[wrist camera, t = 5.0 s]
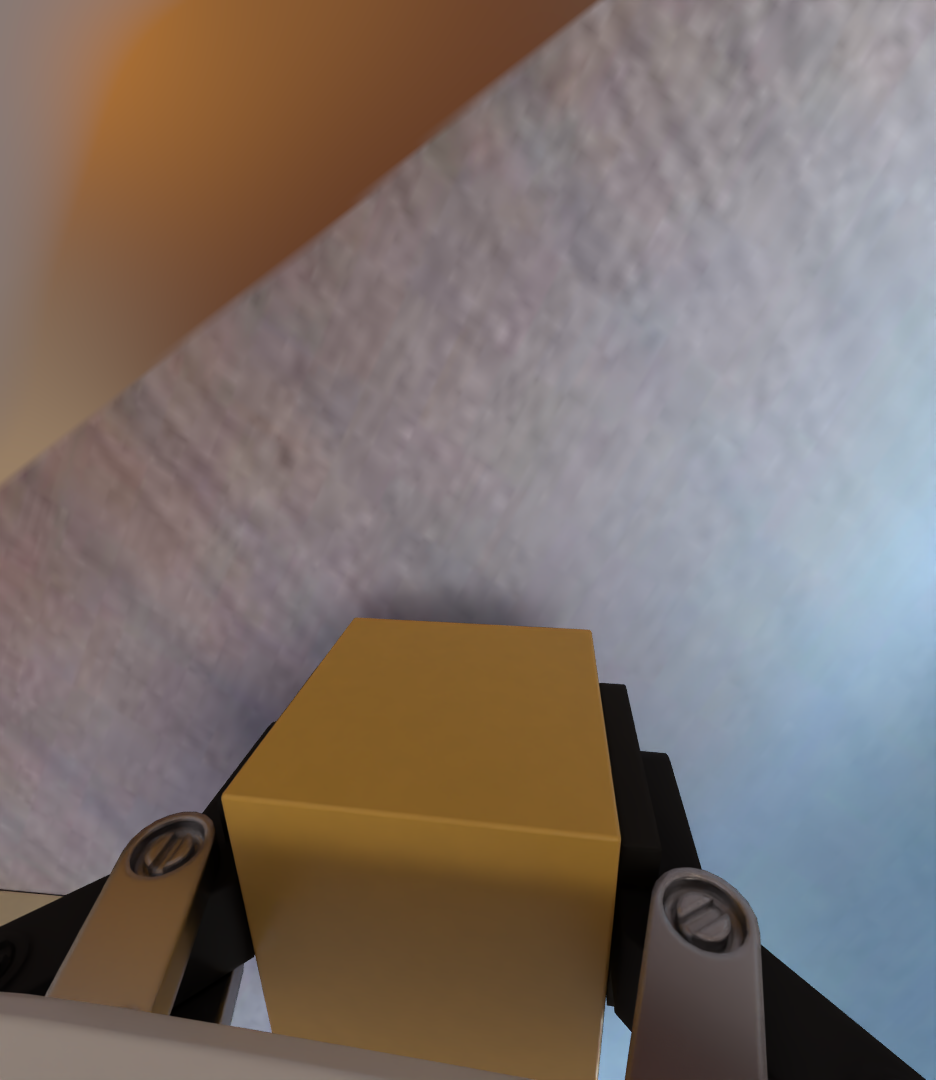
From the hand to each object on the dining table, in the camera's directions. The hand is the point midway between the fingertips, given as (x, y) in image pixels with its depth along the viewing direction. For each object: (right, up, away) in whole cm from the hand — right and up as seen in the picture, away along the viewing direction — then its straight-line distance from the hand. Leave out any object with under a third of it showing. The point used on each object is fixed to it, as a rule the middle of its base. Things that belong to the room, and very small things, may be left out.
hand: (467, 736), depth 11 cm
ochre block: (0, 0, 0) cm, 0 cm away
